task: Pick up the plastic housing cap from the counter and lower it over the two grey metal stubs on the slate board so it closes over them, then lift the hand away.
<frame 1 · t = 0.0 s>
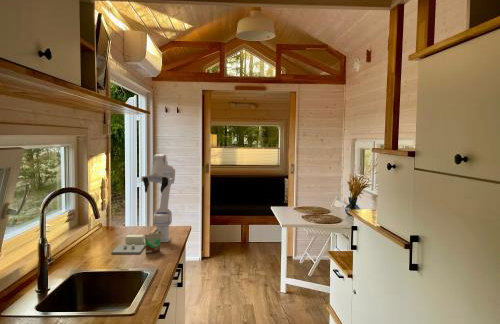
hand: (153, 191, 184), 32 cm above the worktop, tool tilted 50°, fingers open, 7 cm apart
housing cap: (134, 243, 205), on the worktop
stub board: (129, 250, 193), on the worktop
food container: (155, 252, 192), on the worktop
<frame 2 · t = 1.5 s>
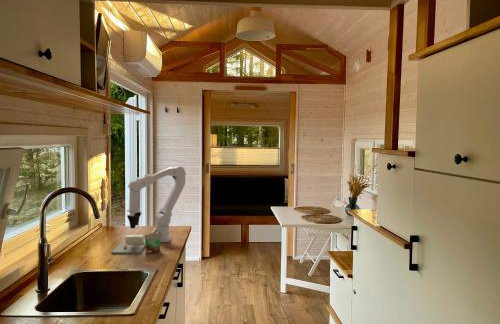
hand: (134, 226, 204), 10 cm above the worktop, tool pointing down, fingers open, 7 cm apart
nothing on the worktop moved.
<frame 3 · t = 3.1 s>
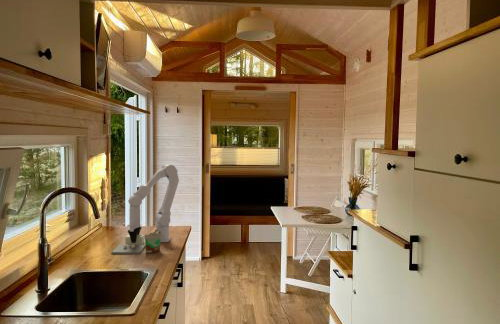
hand: (134, 241, 205), 1 cm above the worktop, tool pointing down, fingers closed on housing cap, 5 cm apart
housing cap: (134, 243, 205), on the worktop, touching gripper
everything else where it was.
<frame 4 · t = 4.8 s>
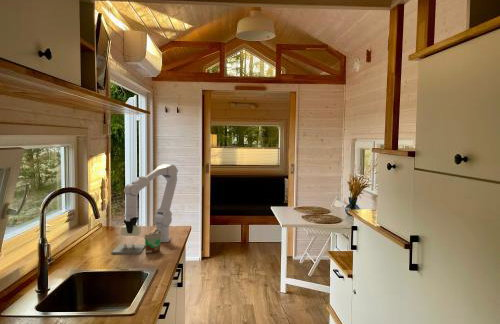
hand: (131, 231, 198), 9 cm above the worktop, tool pointing down, fingers closed on housing cap, 5 cm apart
housing cap: (131, 234, 198), point 7 cm above the worktop, touching gripper
everything else where it was.
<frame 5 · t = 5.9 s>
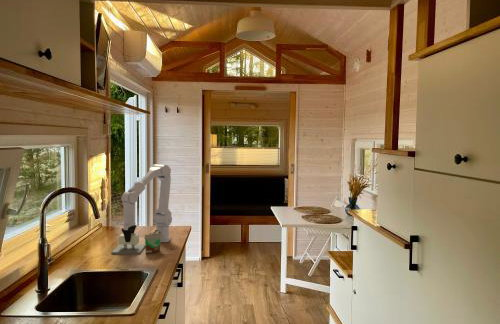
hand: (129, 240, 193), 5 cm above the worktop, tool pointing down, fingers closed on housing cap, 5 cm apart
housing cap: (129, 243, 193), point 4 cm above the worktop, touching gripper
everything else where it was.
when the fingers open (3 cm above the worktop, at t = 6.8 s): housing cap stays where it is, resting on stub board.
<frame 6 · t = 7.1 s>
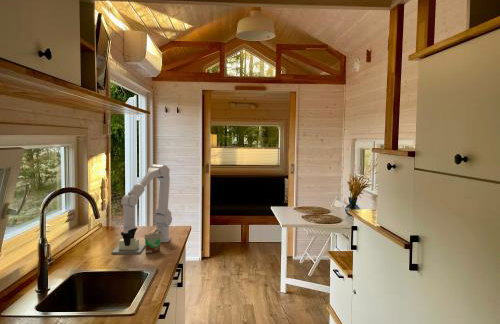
hand: (129, 243, 193), 3 cm above the worktop, tool pointing down, fingers open, 7 cm apart
housing cap: (129, 248, 193), point 1 cm above the worktop, touching stub board
everything else where it was.
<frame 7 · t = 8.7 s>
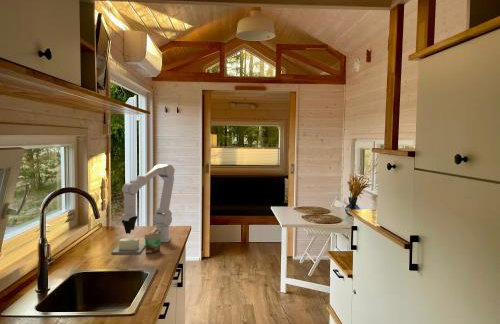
hand: (130, 231, 194), 9 cm above the worktop, tool pointing down, fingers open, 7 cm apart
nothing on the worktop moved.
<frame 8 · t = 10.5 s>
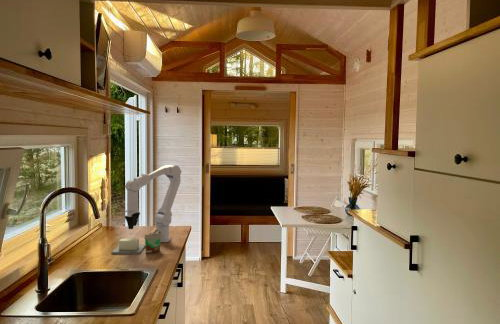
hand: (132, 227, 200), 10 cm above the worktop, tool pointing down, fingers open, 7 cm apart
nothing on the worktop moved.
at the end: housing cap 0.1 cm off-centre on the stub board, point 1.0 cm above the stub board's base; housing cap tilted 0°; the gripper is holding nothing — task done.
